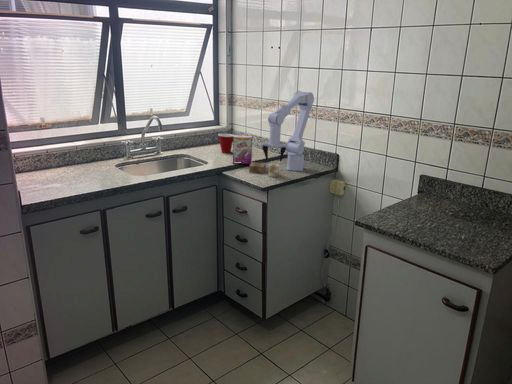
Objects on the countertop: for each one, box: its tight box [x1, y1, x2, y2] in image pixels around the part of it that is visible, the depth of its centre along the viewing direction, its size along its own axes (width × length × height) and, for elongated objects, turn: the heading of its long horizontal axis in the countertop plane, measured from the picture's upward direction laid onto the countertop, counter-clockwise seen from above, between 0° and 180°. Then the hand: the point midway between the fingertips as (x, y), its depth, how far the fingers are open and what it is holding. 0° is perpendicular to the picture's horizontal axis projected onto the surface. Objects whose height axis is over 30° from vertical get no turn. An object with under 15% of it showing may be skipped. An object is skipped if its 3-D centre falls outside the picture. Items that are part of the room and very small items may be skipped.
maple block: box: [268, 163, 280, 178], centre depth 227 cm, size 5×5×6 cm
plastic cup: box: [217, 133, 235, 154], centre depth 271 cm, size 11×11×12 cm
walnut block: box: [248, 161, 267, 174], centre depth 235 cm, size 8×8×4 cm
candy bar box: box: [232, 134, 254, 165], centre depth 247 cm, size 11×5×16 cm, turn 84°
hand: (273, 160), depth 225 cm, fingers open, 7 cm apart
